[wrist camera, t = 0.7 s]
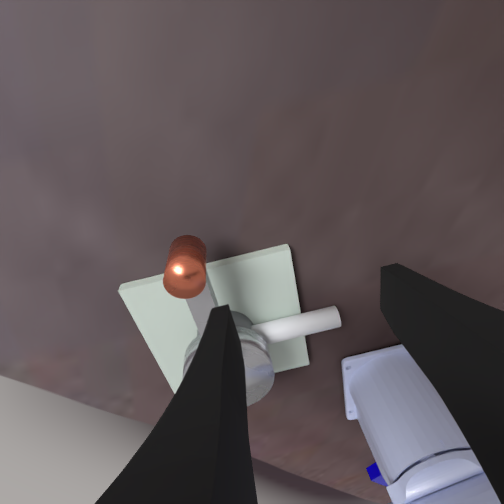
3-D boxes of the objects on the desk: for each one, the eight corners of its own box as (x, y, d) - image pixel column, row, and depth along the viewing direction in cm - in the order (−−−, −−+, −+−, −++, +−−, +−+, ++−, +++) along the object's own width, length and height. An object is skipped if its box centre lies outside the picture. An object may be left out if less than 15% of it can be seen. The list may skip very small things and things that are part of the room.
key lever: (275, 374, 23) (283, 412, 21) (198, 393, 23) (197, 432, 21) (236, 222, 17) (241, 249, 14) (128, 248, 17) (114, 280, 14)
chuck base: (333, 350, 28) (346, 379, 25) (177, 388, 28) (173, 421, 25) (322, 235, 22) (337, 257, 19) (121, 284, 22) (109, 312, 19)
